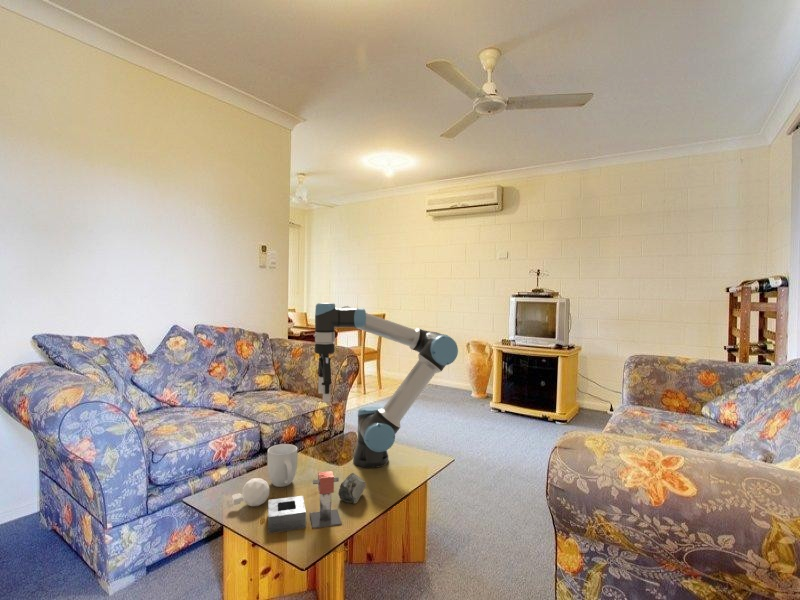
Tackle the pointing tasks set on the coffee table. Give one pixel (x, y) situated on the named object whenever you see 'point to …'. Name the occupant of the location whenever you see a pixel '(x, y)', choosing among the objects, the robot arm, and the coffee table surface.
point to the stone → (352, 488)
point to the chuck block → (286, 514)
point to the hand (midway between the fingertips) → (324, 397)
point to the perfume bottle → (253, 493)
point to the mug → (282, 464)
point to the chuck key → (325, 493)
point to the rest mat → (319, 523)
